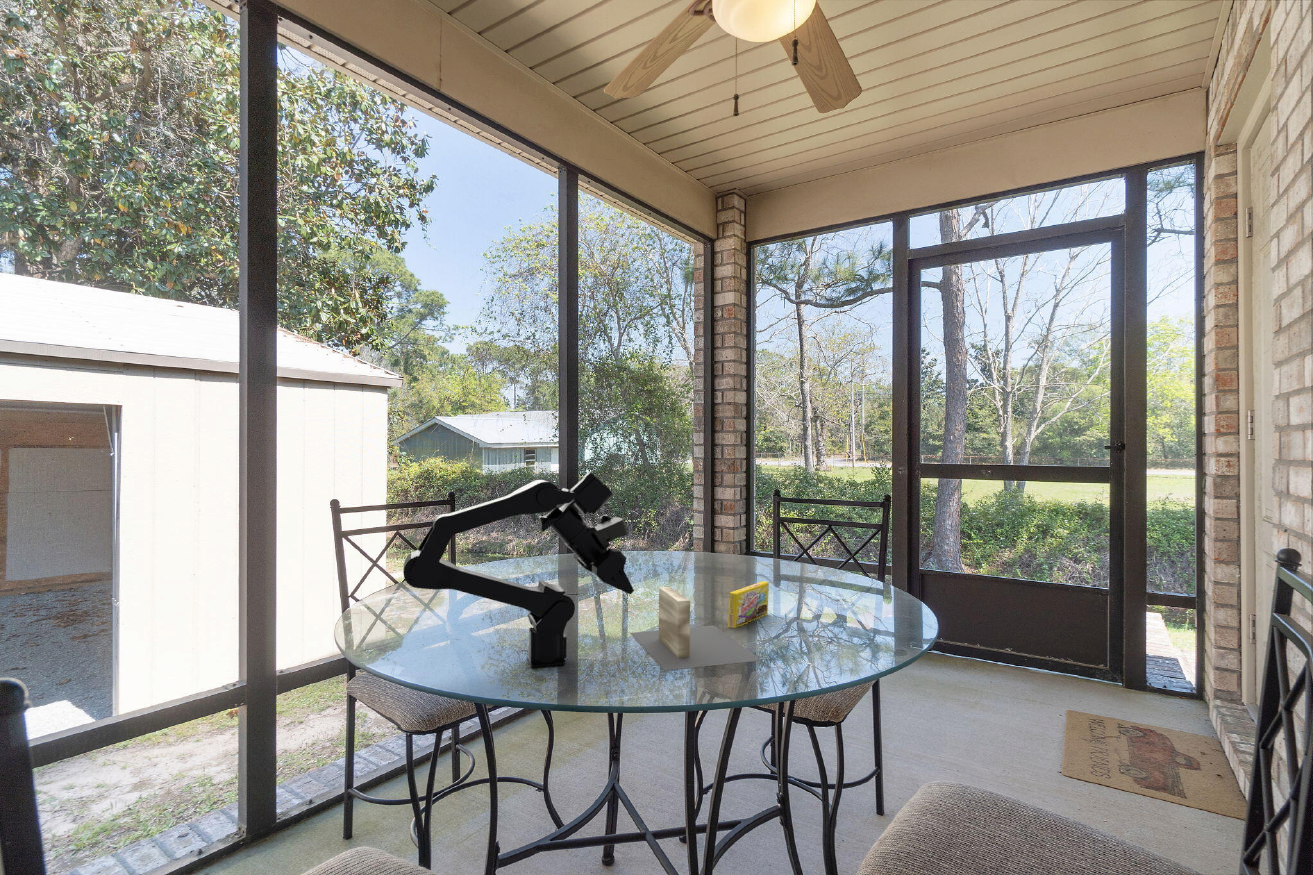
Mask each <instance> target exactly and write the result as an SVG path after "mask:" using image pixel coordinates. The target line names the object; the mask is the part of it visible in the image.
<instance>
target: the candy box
mask: <svg viewBox="0 0 1313 875" xmlns="http://www.w3.org/2000/svg"><path fill="white" fill-rule="evenodd" d="M769 584H770V582H768V581H765V580H762V581H759V582H757V583H754V584H750V585H747V586H745V587H742V588H740V589H736V590H733V591H730V592H729V604H728V606H729V607H728V625H727V626H728V628H732V629H736V628H738V627H740V626H741V627H743V626H745V625H748V624H749V623H748V622H750V623H752V622H753V621H752V620H754V621H756V620H758V619H761V618H763V617H765V616H767V615H768V613H769V611H768V610H769V591H770V590H769V588H770V587H769ZM764 615H765V616H764ZM760 617H761V618H760ZM755 619H756V620H755ZM751 621H752V622H751ZM744 624H745V625H744Z"/></svg>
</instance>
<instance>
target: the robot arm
mask: <svg viewBox="0 0 1313 875" xmlns="http://www.w3.org/2000/svg"><path fill="white" fill-rule="evenodd" d="M581 478H582V479H581V480H579V481H577V483H576V484H575V485H574V486H572V488H570V489H568V488H565V487H563V488H558V487H557V485H556V484H554V483H552V482H550V481H548V480H544V479H536V480H533V481H531V482H529V483H527V484H526V485H524V486H521V487H520V488H517V489H516V490H515V491H512V492H511V493H509V494H507V495H504V496H502V497H498V498H495V499H492V500H490V501H485V502H482V503H479V504H476V505H472V506H469V507H467V508H463V509H460V510H456V511H452V512H450V513H445V514H444V513H441V514H439V515H438V516H436V518H435V519H434V520H433V522H432V523H433V524H432V525H431V528H430V529H429V530H428V532H427V534H426V535H425V537H424V538H423V539H422V541H421V543H420V544H419V546H418V547H417V549H416V550H414V551H411V552H410V553H409V554H408V555H407V556H406V557H405V559H404V562H403V567H402V568H403V571H402V572H403V579H404V581H405V582H406V584H407V585H409V586H410V587H412V588H414V589H421V590H422V589H424V590H436V591H437V590H454V591H458V592H461V593H466V594H470V595H472V596H476V597H479V598H484V599H488V600H491V601H495V602H499V603H503V604H506V605H510V606H515V607H518V608H521V609H524V610H527V611H528V612H529V613H527V618H528V621H529V623H530V625H531V626H532V627H529V628H528V654H527V661H528V664H529V666H530V668H532V669H533V668H534V669H535V668H544V667H545V668H546V667H555V666H564V665H566V659H567V654H568V653H567V648H568V647H567V645H568V643H567V640H568V639H567V636H566V634H565V628H566V626H567V624H568V622H569V621H570V620H571V619H572V618H573V616H574V615H575V609H576V607H575V602H574V600H573V599H572V597H571V596H569V595H568V594H567V592H566V591H565V590H564V589H563V588H562V587H561V586H560V585H559V583H554V584H553V583H549V582H547V581H544V580H543V579H539V580H538V585H536V586H535V585H533V586H532V585H531V586H529V585H523V584H520V583H517V582H514V581H509V580H507V579H502V578H498V577H495V576H492V575H489V574H485V573H481V572H478V571H474V570H472V569H471V570H470V569H468V568H467V569H466V568H464V567H460V566H457V565H456V564H454V563H452V562H451V561H449V560H446V559H445V558H443V556H444V554H445V551H446V549H447V548H448V545H449V543H450V541H451V539H452V538H453V536H455V535H457V534H460V533H463V532H467V531H470V530H473V529H476V528H480V527H482V526H486V525H489V524H492V523H495V522H498V521H502V520H505V519H508V518H511V517H514V516H515V517H516V516H520V515H521V516H522V515H525V516H526V515H534V514H542V513H547V512H548V513H547V514H546V515H543V516H542V515H539V516H538V526H537V529H538V530H540V531H541V532H543V533H544V532H546V531H547V529H549V528H551V529H552V530H553V531H554V533H556V535H557V536H558V538H560V539H561V540H562V541H563V542H564V545H566V547H567V548H568V549H570V550H571V551H572V553H573V560H575V561H576V563H578V564H579V565H580V566H581V567H582V568H583V569H585V570H587V571H588V572H590V573H592V574H593V575H594V576H595V577H597V579H598V580H600V581H601V582H602V583H604V584H606V585H608V586H611V587H613V588H615V589H617V590H620V591H622V592H624V593H626V594H629V595H632V594H633V593H634V591H635V589H634V587H633V586H632V584H631V582H630V580H629V578H628V575H627V574H626V571H625V565H626V564H627V557H626V556H625V554H623V552H622V551H621V550H619V549H617V548H613V547H612V548H610V546H611V544H610V542H612V541H614V540H617V539H619V538H621V537H625V536H627V535H628V534H629V532H628V531H629V530H628V529H627V526H626V524H625V521H624V519H623V518H621V517H619V516H615V517H614V516H612V517H610V516H609V515H607V514H604V515H601V516H599V517H598V524H596V526H593V525H590V524H588V522H587V521H586V520H585V518H583V517H582V516H581V514H582V515H584V516H586V515H587V514H589V515H591V516H593V515H595V514H596V513H597V512H598V511H599V510H601V508H602V507H603V506H604V505H605V504H606V503H608V501H610V500H611V498H613V497H614V494H613V493H612V491H611V489H610V488H609V487H608V486H607V485H606V484H605V483H603V482H602V481H601V480H600V479H599V478H598V477H596V476H595V474H593V473H592V472H589V471H588V472H587V473H586V474H585V475H583V477H581ZM559 505H562V506H560V507H558V506H559ZM573 505H574V507H573ZM575 508H576V509H577V510H578V511H579V512H580V513H581V514H579V512H578V511H577V510H576V509H575Z"/></svg>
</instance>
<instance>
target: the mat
mask: <svg viewBox="0 0 1313 875" xmlns="http://www.w3.org/2000/svg"><path fill="white" fill-rule="evenodd" d="M629 634H630V635H631V636H632V638H634V640H635V641H636V642H637V643H638V644H639V645H640V646H641V647H642V648H643V649H644V650H645V651H646V653H647V654H648V655H649V656H650V657H651V658H652V659H653V661H655V663H656V664H658V666H660V668H661V669H662V670H663V671H664V672H669V671H679V670H687V669H688V670H689V669H695V668H704V667H714V666H722V665H732V664H742V663H750V662H759V661H762V659H761V657H759V656H757V655H755V654H754V653H753V652H752V651H750V650H749V649H747V648H746V647H745V646H743V645H742V644H741V643H739V642H738V641H736V640H734V639H733V638H732V637H730V636H729V635H728V634H726V633H725V632H724V631H722V630H721V629H719V628H718V627H716V626H715V625H702V626H690V656H689V657H679V658H678V657H677V656H676V655H674V654H673V653H672V652H671V651H670V650H669V649H668V648H667V647H666V646H665V645H664V644H663V643H662V642H661V641H660V640H659V629H658V630H656V629H655V630H649V631H648V630H647V631H635V632H629Z"/></svg>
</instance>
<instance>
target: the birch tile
mask: <svg viewBox="0 0 1313 875" xmlns="http://www.w3.org/2000/svg"><path fill="white" fill-rule="evenodd" d="M690 627H691V600H690V599H688V598H687V597H685V595H683V594H681V593H680V592H679V591H677V590H675V589H674V588H673V587H672V586H665V587H664V586H663V587H661V586H660V587H659V588H658V630H659V640H660V641H661V642H662V643H663V644H664V645H665V646H666V647H667V648H668V649H669V650H670V651H671V652H672V653H673V654H674V655H676V656H677V657H678V658H679V657H689V656H690Z"/></svg>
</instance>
